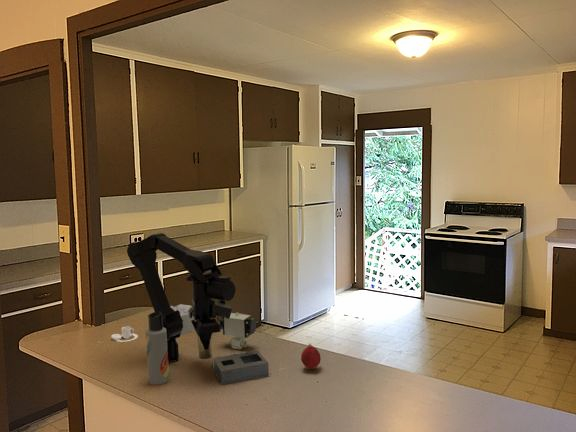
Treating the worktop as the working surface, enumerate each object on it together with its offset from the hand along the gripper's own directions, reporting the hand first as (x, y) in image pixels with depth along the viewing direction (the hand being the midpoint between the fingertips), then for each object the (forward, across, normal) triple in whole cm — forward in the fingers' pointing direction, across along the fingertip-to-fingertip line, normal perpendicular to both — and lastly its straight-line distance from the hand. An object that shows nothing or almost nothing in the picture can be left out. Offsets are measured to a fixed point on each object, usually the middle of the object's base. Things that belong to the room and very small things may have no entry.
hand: (205, 346), depth 148 cm
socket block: (+7, -7, -9) cm, 13 cm away
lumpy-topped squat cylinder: (+7, +39, +2) cm, 40 cm away
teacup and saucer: (+8, +41, +22) cm, 48 cm away
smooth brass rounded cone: (+3, 0, 0) cm, 3 cm away
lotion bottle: (+7, -2, +14) cm, 16 cm away
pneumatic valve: (+7, +13, -14) cm, 20 cm away
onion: (+7, -13, -29) cm, 33 cm away
